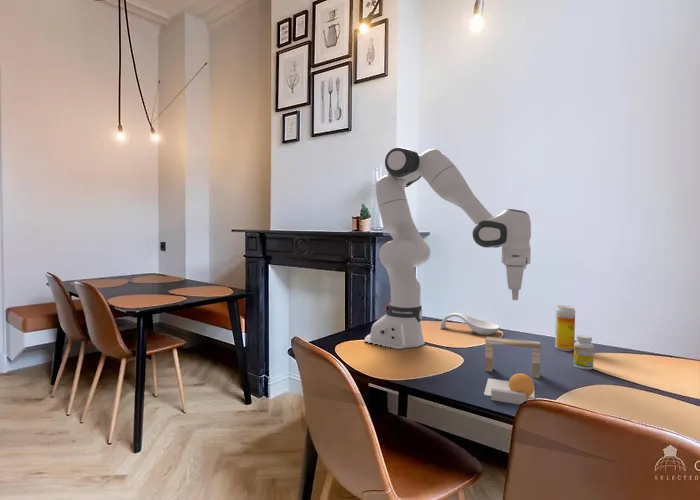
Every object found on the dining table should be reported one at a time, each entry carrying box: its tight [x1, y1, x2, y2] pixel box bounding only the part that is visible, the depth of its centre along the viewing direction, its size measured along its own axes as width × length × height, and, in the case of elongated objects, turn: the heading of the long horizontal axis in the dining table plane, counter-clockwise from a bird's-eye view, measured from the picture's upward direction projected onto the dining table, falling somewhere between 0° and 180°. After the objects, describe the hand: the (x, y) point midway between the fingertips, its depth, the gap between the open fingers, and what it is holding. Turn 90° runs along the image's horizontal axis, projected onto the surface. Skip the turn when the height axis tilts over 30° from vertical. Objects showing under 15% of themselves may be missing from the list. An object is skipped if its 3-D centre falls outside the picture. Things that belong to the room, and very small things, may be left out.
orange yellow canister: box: [554, 305, 576, 352], centre depth 143 cm, size 6×6×15 cm
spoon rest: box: [440, 312, 501, 336], centre depth 168 cm, size 24×12×7 cm, turn 61°
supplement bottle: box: [573, 334, 595, 370], centre depth 125 cm, size 5×5×10 cm
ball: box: [508, 372, 535, 398], centre depth 104 cm, size 6×6×6 cm
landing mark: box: [483, 377, 536, 400], centre depth 108 cm, size 12×12×1 cm
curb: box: [490, 388, 526, 405], centre depth 101 cm, size 8×2×2 cm, turn 66°
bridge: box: [484, 336, 542, 379], centre depth 121 cm, size 3×15×10 cm, turn 66°
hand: (515, 299), depth 135 cm, fingers closed
